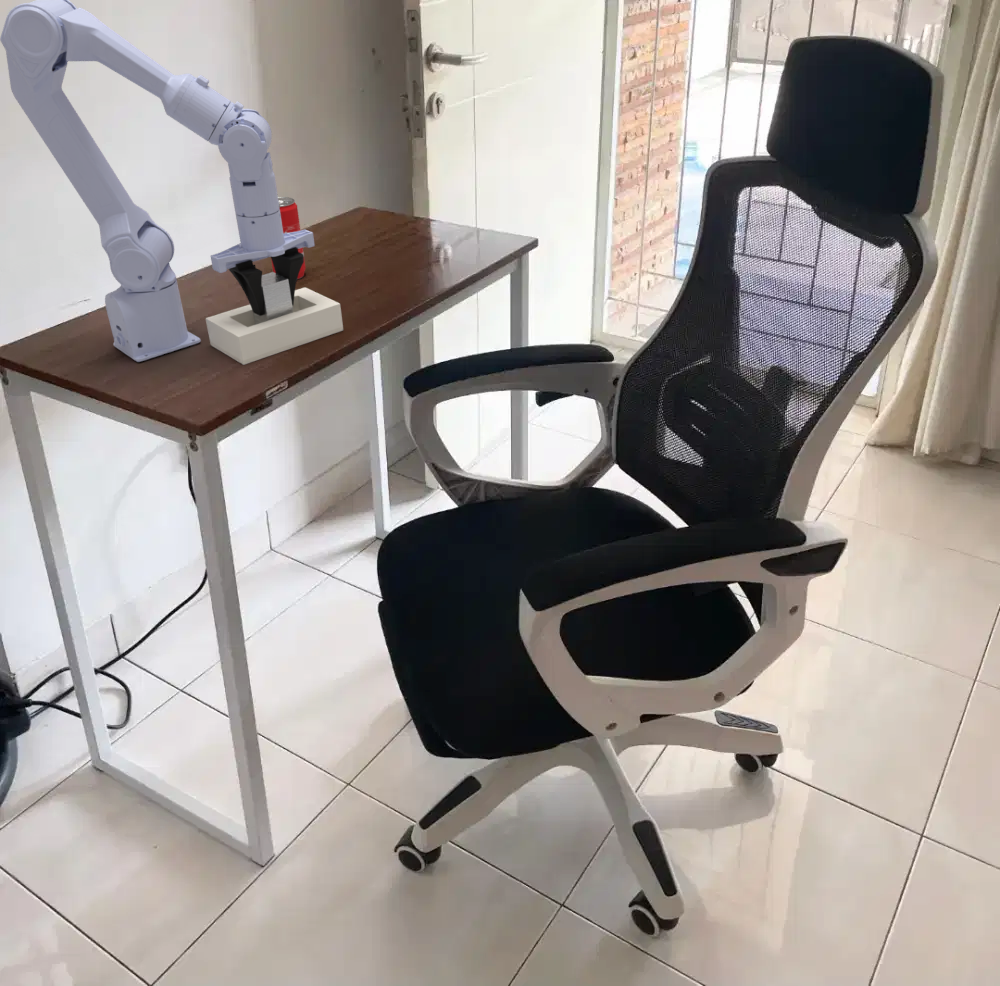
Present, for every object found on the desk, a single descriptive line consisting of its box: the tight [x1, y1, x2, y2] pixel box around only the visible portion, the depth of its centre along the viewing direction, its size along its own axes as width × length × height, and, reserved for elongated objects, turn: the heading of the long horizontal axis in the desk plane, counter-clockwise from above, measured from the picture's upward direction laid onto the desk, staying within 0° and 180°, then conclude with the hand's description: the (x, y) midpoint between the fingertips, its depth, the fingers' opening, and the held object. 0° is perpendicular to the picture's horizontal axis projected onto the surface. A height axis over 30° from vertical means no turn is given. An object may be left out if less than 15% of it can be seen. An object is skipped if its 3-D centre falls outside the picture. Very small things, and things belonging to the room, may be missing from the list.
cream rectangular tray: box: [205, 287, 344, 366], centre depth 140 cm, size 16×9×4 cm, turn 132°
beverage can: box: [270, 196, 307, 280], centre depth 158 cm, size 5×5×12 cm
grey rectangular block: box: [253, 271, 293, 325], centre depth 138 cm, size 4×4×7 cm
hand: (273, 308), depth 138 cm, fingers closed on grey rectangular block, 4 cm apart
